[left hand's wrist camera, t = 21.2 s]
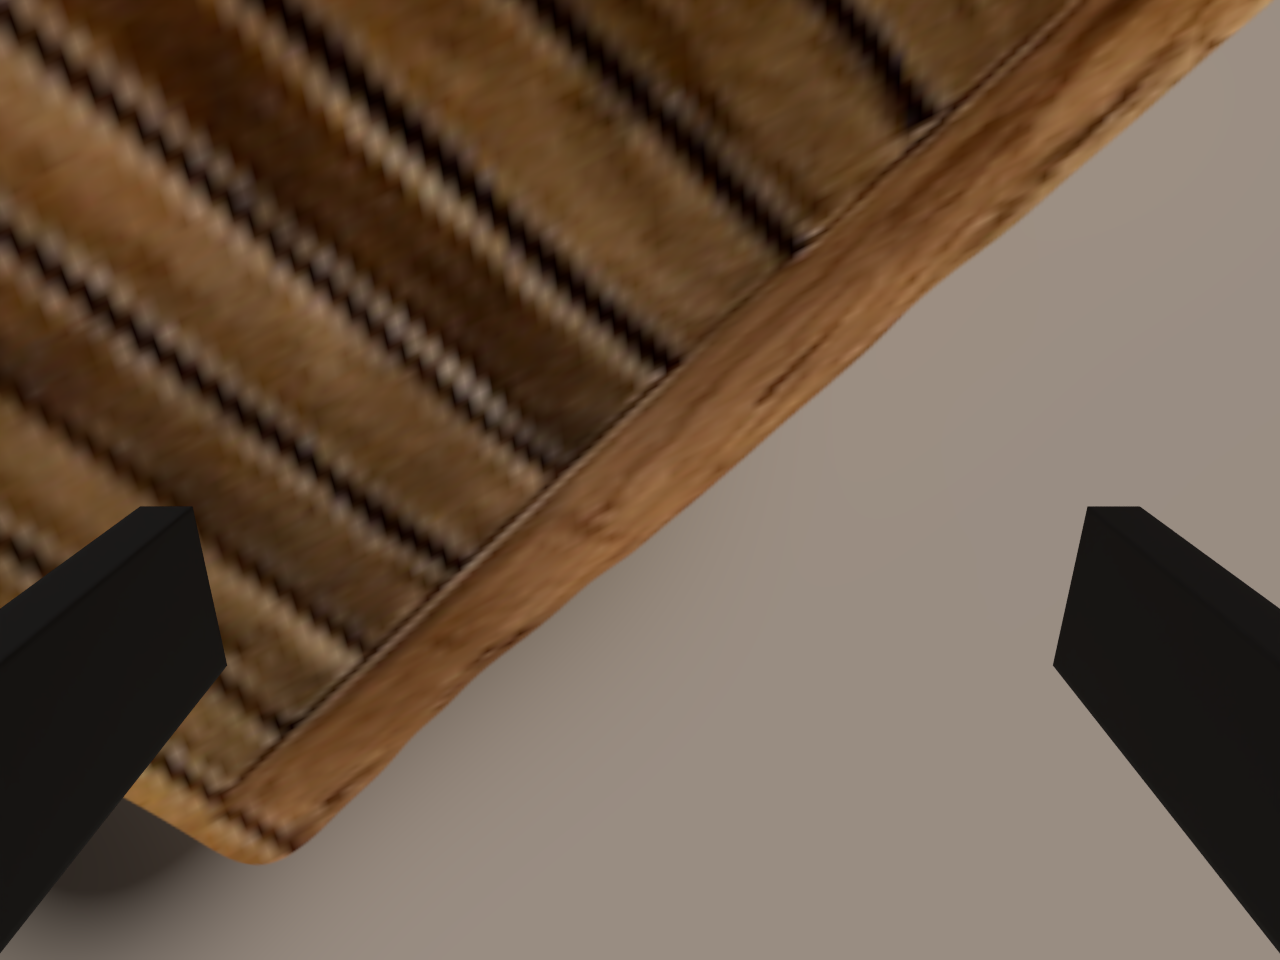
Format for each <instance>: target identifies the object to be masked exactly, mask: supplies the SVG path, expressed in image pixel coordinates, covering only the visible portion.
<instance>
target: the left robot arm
mask: <svg viewBox="0 0 1280 960" xmlns="http://www.w3.org/2000/svg"><path fill="white" fill-rule="evenodd" d="M226 666H227V663H226V658H225V654H224V649H223V644H222V640H221V635H220V631H219V626H218V621H217V617H216V612H215V608H214V603H213V599H212V594H211V589H210V585H209V580H208V576H207V571H206V566H205V562H204V557H203V553H202V548H201V544H200V539H199V534H198V530H197V525H196V521H195V516H194V511H193V507H139V508H138V509H136V510H135V511H133V512H132V513H131V514H129V515H128V516H127V517H125V518H124V519H122V520H121V521H120V522H118V523H117V524H116V525H114V526H113V527H111V528H110V529H109V530H107V531H106V532H105V533H103V534H102V535H101V536H99V537H98V538H96V539H95V540H94V541H92V542H91V543H90V544H88V545H87V546H85V547H84V548H83V549H81V550H80V551H79V552H77V553H76V554H75V555H73V556H72V557H70V558H69V559H68V560H66V561H65V562H64V563H62V564H61V565H59V566H58V567H57V568H55V569H54V570H53V571H51V572H50V573H48V574H47V575H46V576H44V577H43V578H42V579H40V580H39V581H38V582H36V583H35V584H33V585H32V586H31V587H29V588H28V589H27V590H25V591H24V592H22V593H21V594H20V595H18V596H17V597H16V598H14V599H13V600H12V601H10V602H9V603H7V604H6V605H5V606H3V607H2V608H1V609H0V953H1V951H2V950H3V949H4V948H5V946H6V945H7V944H8V943H9V941H10V940H11V939H12V938H13V936H14V935H15V934H16V932H17V931H18V930H19V929H20V927H21V926H22V925H23V924H24V922H25V921H26V920H27V918H28V917H29V916H30V915H31V913H32V912H33V911H34V910H35V908H36V907H37V906H38V905H39V903H40V902H41V901H42V899H43V898H44V897H45V896H46V894H47V893H48V892H49V891H50V889H51V888H52V887H53V885H54V884H55V883H56V882H57V880H58V879H59V878H60V877H61V875H62V874H63V873H64V872H65V870H66V869H67V868H68V866H69V865H70V864H71V863H72V861H73V860H74V859H75V858H76V856H77V855H78V854H79V853H80V851H81V850H82V849H83V847H84V846H85V845H86V844H87V842H88V841H89V840H90V839H91V837H92V836H93V835H94V833H95V832H96V831H97V830H98V828H99V827H100V826H101V825H102V823H103V822H104V821H105V819H106V818H107V817H108V816H109V814H110V813H111V812H112V811H113V809H114V808H115V807H116V806H117V804H118V803H119V802H120V801H121V799H122V798H123V797H124V795H125V794H126V793H127V792H128V790H129V789H130V788H131V787H132V785H133V784H134V783H135V782H136V780H137V779H138V778H139V776H140V775H141V774H142V773H143V771H144V770H145V769H146V768H147V766H148V765H149V764H150V762H151V761H152V760H153V759H154V757H155V756H156V755H157V754H158V752H159V751H160V750H161V749H162V747H163V746H164V745H165V743H166V742H167V741H168V740H169V738H170V737H171V736H172V735H173V733H174V732H175V731H176V730H177V728H178V727H179V726H180V724H181V723H182V722H183V721H184V719H185V718H186V717H187V716H188V714H189V713H190V712H191V710H192V709H193V708H194V707H195V705H196V704H197V703H198V702H199V700H200V699H201V698H202V697H203V695H204V694H205V693H206V691H207V690H208V689H209V688H210V686H211V685H212V684H213V683H214V681H215V680H216V679H217V677H218V676H219V675H220V674H221V672H222V671H223V670H224V669H225V667H226ZM1053 666H1054V667H1055V669H1056V670H1057V671H1058V672H1059V674H1060V675H1061V676H1062V677H1063V679H1064V680H1065V681H1066V683H1067V684H1068V685H1069V686H1070V688H1071V689H1072V690H1073V691H1074V693H1075V694H1076V695H1077V696H1078V698H1079V699H1080V700H1081V702H1082V703H1083V704H1084V705H1085V707H1086V708H1087V709H1088V710H1089V712H1090V713H1091V714H1092V716H1093V717H1094V718H1095V719H1096V721H1097V722H1098V723H1099V724H1100V726H1101V727H1102V728H1103V729H1104V731H1105V732H1106V733H1107V735H1108V736H1109V737H1110V738H1111V740H1112V741H1113V742H1114V743H1115V745H1116V746H1117V747H1118V749H1119V750H1120V751H1121V752H1122V754H1123V755H1124V756H1125V757H1126V759H1127V760H1128V761H1129V762H1130V764H1131V765H1132V766H1133V768H1134V769H1135V770H1136V771H1137V773H1138V774H1139V775H1140V776H1141V778H1142V779H1143V780H1144V782H1145V783H1146V784H1147V785H1148V787H1149V788H1150V789H1151V790H1152V792H1153V793H1154V794H1155V795H1156V797H1157V798H1158V799H1159V801H1160V802H1161V803H1162V804H1163V806H1164V807H1165V808H1166V809H1167V811H1168V812H1169V813H1170V814H1171V816H1172V817H1173V818H1174V820H1175V821H1176V822H1177V823H1178V825H1179V826H1180V827H1181V828H1182V830H1183V831H1184V832H1185V833H1186V835H1187V836H1188V837H1189V839H1190V840H1191V841H1192V842H1193V844H1194V845H1195V846H1196V847H1197V849H1198V850H1199V851H1200V853H1201V854H1202V855H1203V856H1204V858H1205V859H1206V860H1207V861H1208V863H1209V864H1210V865H1211V866H1212V868H1213V869H1214V870H1215V872H1216V873H1217V874H1218V875H1219V877H1220V878H1221V879H1222V880H1223V882H1224V883H1225V884H1226V885H1227V887H1228V888H1229V889H1230V891H1231V892H1232V893H1233V894H1234V896H1235V897H1236V898H1237V899H1238V901H1239V902H1240V903H1241V904H1242V906H1243V907H1244V908H1245V910H1246V911H1247V912H1248V913H1249V915H1250V916H1251V917H1252V919H1253V920H1254V921H1255V922H1256V924H1257V925H1258V926H1259V927H1260V929H1261V930H1262V931H1263V932H1264V934H1265V935H1266V936H1267V938H1268V939H1269V940H1270V941H1271V943H1272V944H1273V945H1274V946H1275V948H1276V949H1277V950H1278V951H1279V953H1280V609H1279V608H1278V607H1277V606H1275V605H1274V604H1273V603H1271V602H1270V601H1268V600H1267V599H1266V598H1264V597H1263V596H1262V595H1260V594H1259V593H1258V592H1256V591H1255V590H1253V589H1252V588H1251V587H1249V586H1248V585H1247V584H1245V583H1244V582H1242V581H1241V580H1240V579H1238V578H1237V577H1236V576H1234V575H1233V574H1231V573H1230V572H1229V571H1227V570H1226V569H1225V568H1223V567H1222V566H1221V565H1219V564H1218V563H1216V562H1215V561H1214V560H1212V559H1211V558H1210V557H1208V556H1207V555H1205V554H1204V553H1203V552H1201V551H1200V550H1199V549H1197V548H1196V547H1194V546H1193V545H1192V544H1190V543H1189V542H1188V541H1186V540H1185V539H1184V538H1182V537H1181V536H1179V535H1178V534H1177V533H1175V532H1174V531H1173V530H1171V529H1170V528H1169V527H1167V526H1166V525H1164V524H1163V523H1162V522H1160V521H1159V520H1157V519H1156V518H1155V517H1153V516H1152V515H1151V514H1149V513H1148V512H1147V511H1145V510H1144V509H1142V508H1141V507H1087V511H1086V516H1085V521H1084V525H1083V530H1082V534H1081V539H1080V544H1079V548H1078V553H1077V557H1076V562H1075V567H1074V571H1073V576H1072V580H1071V585H1070V590H1069V594H1068V599H1067V603H1066V608H1065V612H1064V617H1063V621H1062V626H1061V631H1060V635H1059V640H1058V645H1057V649H1056V654H1055V658H1054V663H1053Z"/></svg>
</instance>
